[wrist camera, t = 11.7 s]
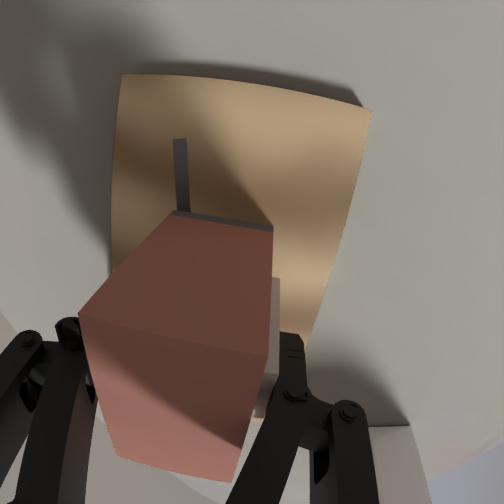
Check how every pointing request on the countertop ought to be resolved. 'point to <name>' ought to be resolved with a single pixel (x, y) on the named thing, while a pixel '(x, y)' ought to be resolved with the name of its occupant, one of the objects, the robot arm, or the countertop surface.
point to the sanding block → (183, 343)
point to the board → (240, 172)
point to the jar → (398, 466)
